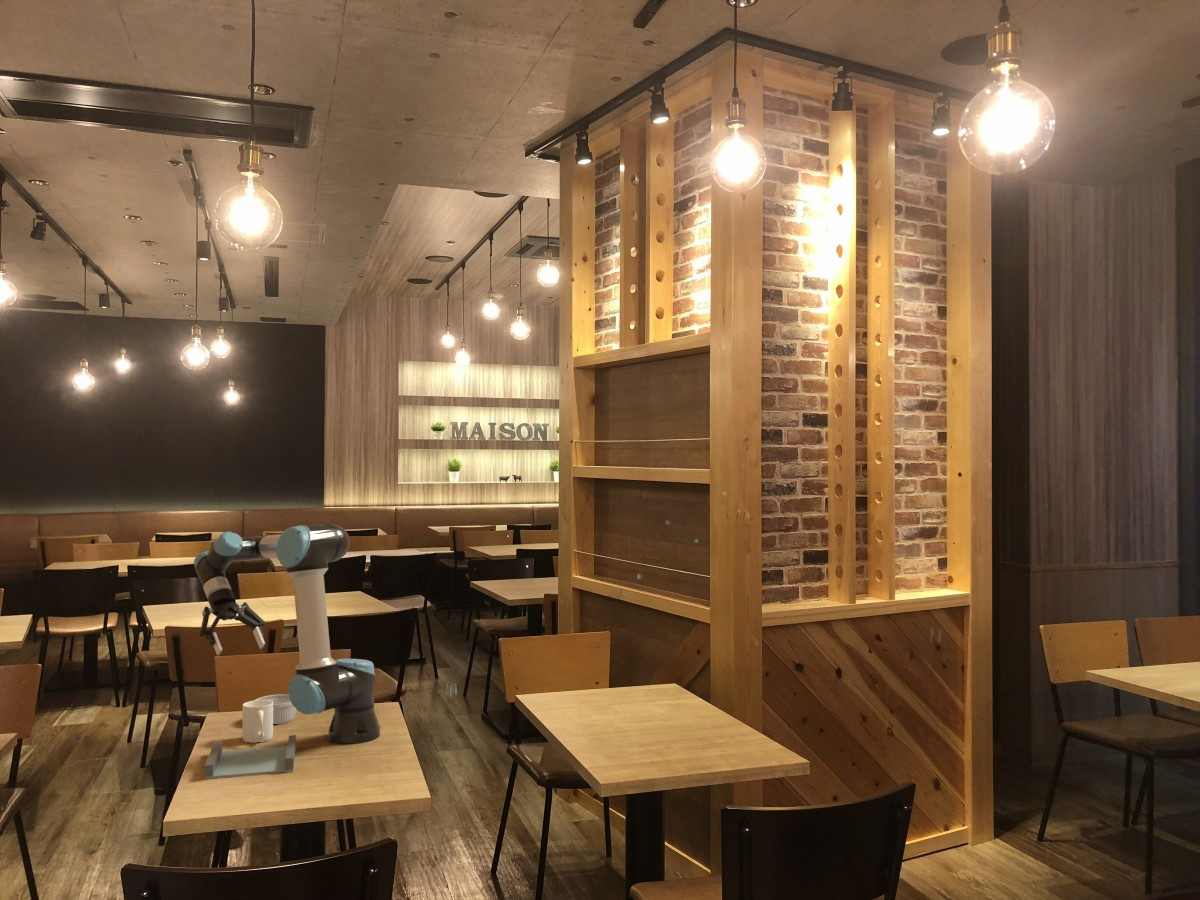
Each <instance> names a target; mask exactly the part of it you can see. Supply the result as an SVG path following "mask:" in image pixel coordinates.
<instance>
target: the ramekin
mask: <svg viewBox="0 0 1200 900" xmlns="http://www.w3.org/2000/svg"><path fill="white" fill-rule="evenodd" d="M255 700H270V701H273V724H280V725H283V724H282V723H285V724H287V723H286V722H288V723H290V722H289V721H291V720H292V721H293V720H294V719H295V717H296V712H297V709H296V708H295V707H294V706H293V705H292V703H291V701H290V698H289V694H286V693H285V694H281V693H279V694H270V695H265V696H261V697H258V698H256V699H255ZM292 721H291V722H292Z"/></svg>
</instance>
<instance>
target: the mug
mask: <svg viewBox="0 0 1200 900" xmlns="http://www.w3.org/2000/svg"><path fill="white" fill-rule="evenodd" d="M241 724H242V730H241V731H242V733H241V734H242V735H241V736H242V740H243V742H244V741H245V743H247V742H249V743H248V744H258V743H257V742H261V743H265V742H268V741H270V740H271V739H272V738H273V736H274V725H273V701H270V700H256V699H254V700H250V701H246V702H244V703H243V704H242V723H241ZM267 740H268V741H267ZM264 741H265V742H264Z"/></svg>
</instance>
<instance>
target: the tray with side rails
mask: <svg viewBox="0 0 1200 900" xmlns="http://www.w3.org/2000/svg"><path fill="white" fill-rule="evenodd" d="M287 740H288V741H287V746H286V745H284V746H273V747H261V748H248V749H247V748H246V749H235V750H233V749H232V750H223V740H217V741H216V740H215V741H214V742H213V745H212V747H211V750H210V752H209V753H208V757H207V759H206V762H205V764H204V780H211V779H210V778H214V779H220V778H219V777H225V778H232V777H231V776H237V777H246V776H245V775H248V776H257V775H256V774H260V775H268V774H267V773H271V774H279V773H278V772H283V773H288V772H287V771H293V772H294V769H293V768H295V761H294V760H296V753H295V752H296V751H297V735H296V734H293V735H292V734H291V735H288V739H287Z"/></svg>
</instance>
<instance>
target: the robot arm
mask: <svg viewBox="0 0 1200 900" xmlns="http://www.w3.org/2000/svg"><path fill="white" fill-rule="evenodd" d="M350 540H351V539H350V536H349V534H348V532H347V531H346V530H345V529H344V528H343V527H342V526H340V525H338V524H332V523H324V524H303V525H296V526H291V527H287V528H285V530H284V531H283V532H282V533H281V534H271V535H268V534H266V535H257V536H245V537H241V536H240V535H239V534H238V533H235V532H232V531H225V532H223V533H221V534H220V535H219V536H218V538H217V539H216V540H215V541H214V543H213V545H212V546H211V548H210V549H209V550H207V551H203V552H201V553H200V554H199V555H197V556H195V558H194V561H193V565H194V569H195V572H196V574H197V576H198V578H199V582H200V584H201V586H202V588H203V591H204V594H205V597H206V599H207V601H208V604H209V606H210V607H209V606H204V608H203V610H202V612H201V613H202V622H201V626H200V631H199V637H201V638H202V637H204V638H205V640H208V642H209V645H210V646H213V648H214V651H215V653H216V656H220V654H221V653H222V652H223V647H222V645H221V642H220V640H219V638H218V634H217V632H216V631H215V629H216V627H217V625H218V624H219V622H220V620H221V621H229V620H234V621H239V622H241V624H244V625H246V627H248V628H251V629H252V630H253V632H252V633H253V636H254V639H255V641H256V643H257V645H258V647H259V649H260V650H261V649H263V648H264V646H265V644H266V642H265V639H264V635H265V634H264V631H263V628H264V627H265V625H266V621H265V620H264V619H263V618H262V617H261V616H259V615H258V614H257V612H255V611H254V610H253V609H251V607H250V606H249V604H248V603H247V601H246V602H245V601H244V602H243V603H242V604H239V603H237V602H236V601H237V600H236V597H235V594H234V593H233V590H232V587H231V585H230V583H229V580H228V578H227V576H226V573H225V571H226V570H227V569H228V567H229V566H230V565H231V563H232V562H243V561H244V562H245V561H252V560H253V561H254V560H263V559H265V560H267V559H277V561H278V562H279V564H280V565H281V566H283V567H284V568H286V574H287V575H288V576H289V577H291V578H292V579H293V580H292V581H293V592H294V593H293V594H294V605H295V607H294V608H295V617H296V629H297V630H296V631H297V639H298V650H299V662H298V663H297V665H296V666H295V667H294V669H295V670H294V671H295V675H294V676H293V677H291V679H290V680H289V683H288V687H287V693H288V694H287V695H289V698H290V701H291V703H292V705H293V706H294V707H295V708H296V711H297V712H298V713H301V714H303V715H314V714H320V713H323V712H325V711H329V710H332V709H334V713H333V716H332V719H331V722H330V725H329V728H328V732H327V733H328V736H327V737H328V740H329V741H331V742H332V743H338V744H357V743H359V742H360V743H363V742H365V741H366V742H370V741H373V740H375V739H377V738H379V737H380V735H381V727H380V726H381V725H380V723H379V720H378V717H377V713H376V712H375V676H376V673H375V665H374V663H373V661H371V660H368V659H361V658H359V659H358V658H339V659H334V658H333V657H332V655H331V646H330V645H331V644H330V635H329V634H330V633H329V623H328V622H329V620H328V612H327V611H328V610H327V609H328V608H327V600H326V589H325V587H326V586H325V579H324V578H325V576H324V575H325V574H326V572H327V571H328V570H329V563H333V562H337V561H339V560H341V559H342V558H343V557H345V555H346V554H347V552H348V551H349V548H350V543H351V541H350ZM211 614H212V615H214V616H216V617H215V619H214V621H213V622H212V624H211V625H210V627H209V629H208V624H209V619H210V616H211ZM214 631H215V632H214ZM369 740H370V741H369Z"/></svg>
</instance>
